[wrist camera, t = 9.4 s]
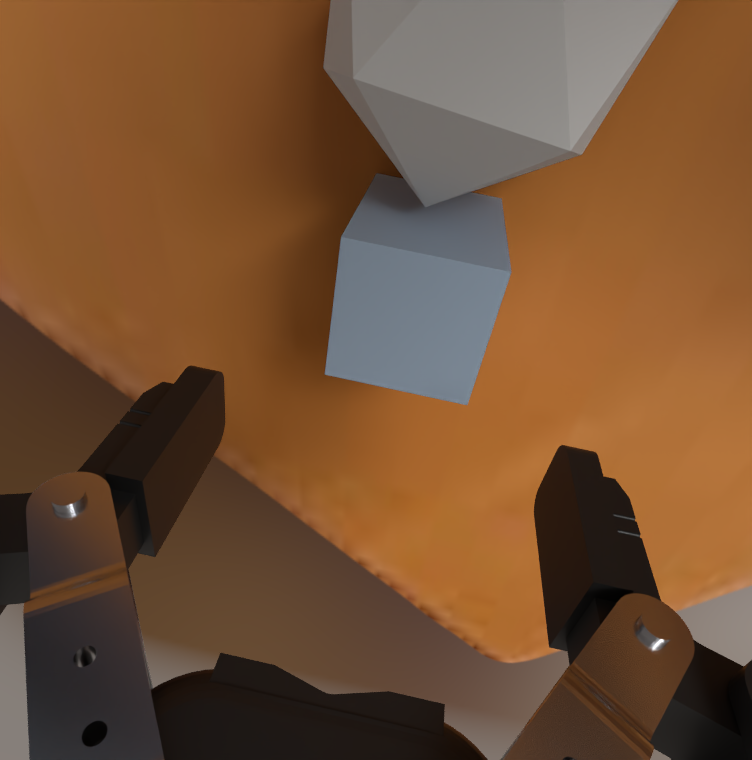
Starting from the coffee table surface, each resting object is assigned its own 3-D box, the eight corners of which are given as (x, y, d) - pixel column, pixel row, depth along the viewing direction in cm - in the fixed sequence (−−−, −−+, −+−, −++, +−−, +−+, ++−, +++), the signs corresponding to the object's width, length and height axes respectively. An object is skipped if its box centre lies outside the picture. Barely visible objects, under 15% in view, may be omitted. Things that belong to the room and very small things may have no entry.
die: (529, 220, 21) (665, -101, 16) (589, 292, 13) (887, -292, 8) (320, 153, 20) (399, -198, 16) (251, 184, 13) (369, -498, 8)
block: (376, 172, 21) (341, 236, 15) (501, 198, 21) (511, 272, 15) (360, 286, 24) (324, 374, 18) (469, 309, 24) (467, 405, 18)
